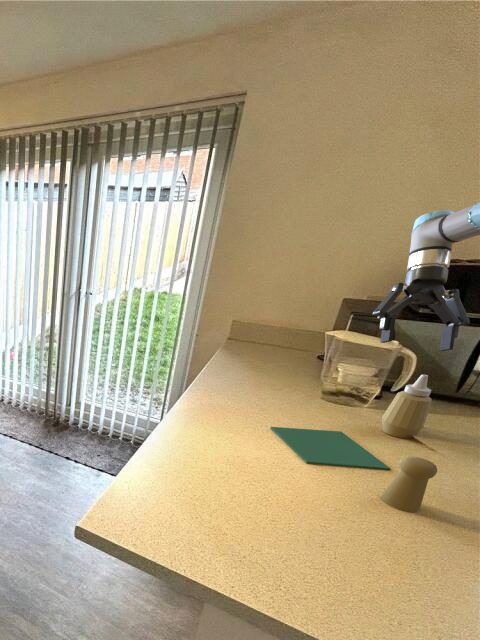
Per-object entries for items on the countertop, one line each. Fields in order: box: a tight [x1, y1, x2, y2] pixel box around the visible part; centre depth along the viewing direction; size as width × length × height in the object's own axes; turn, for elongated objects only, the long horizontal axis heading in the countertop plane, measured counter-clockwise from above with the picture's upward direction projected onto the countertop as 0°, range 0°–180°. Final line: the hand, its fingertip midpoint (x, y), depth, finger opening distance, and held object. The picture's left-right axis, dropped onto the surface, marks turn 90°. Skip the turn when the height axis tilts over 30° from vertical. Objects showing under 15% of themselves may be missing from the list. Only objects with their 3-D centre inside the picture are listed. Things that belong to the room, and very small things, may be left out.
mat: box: [270, 426, 391, 471], centre depth 105 cm, size 18×18×1 cm
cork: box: [379, 455, 438, 513], centre depth 83 cm, size 6×6×11 cm
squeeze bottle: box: [381, 374, 433, 439], centre depth 107 cm, size 8×8×18 cm
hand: (415, 346), depth 105 cm, fingers open, 13 cm apart
